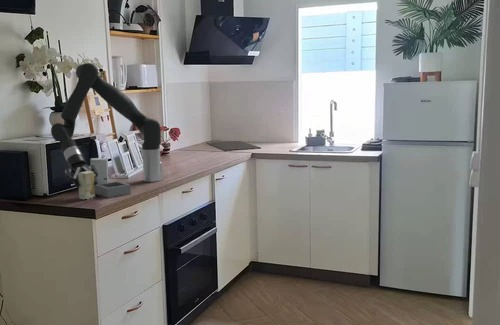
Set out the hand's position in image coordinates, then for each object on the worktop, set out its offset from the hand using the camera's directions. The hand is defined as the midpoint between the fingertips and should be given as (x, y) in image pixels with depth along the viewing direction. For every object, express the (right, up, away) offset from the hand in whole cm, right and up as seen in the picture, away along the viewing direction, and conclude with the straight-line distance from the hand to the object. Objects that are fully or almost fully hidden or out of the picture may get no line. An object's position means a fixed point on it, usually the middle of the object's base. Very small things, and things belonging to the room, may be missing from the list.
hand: (87, 185), depth 230 cm
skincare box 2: (-2, -2, +26) cm, 26 cm away
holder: (+9, -5, +10) cm, 14 cm away
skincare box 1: (-1, -6, +2) cm, 6 cm away
